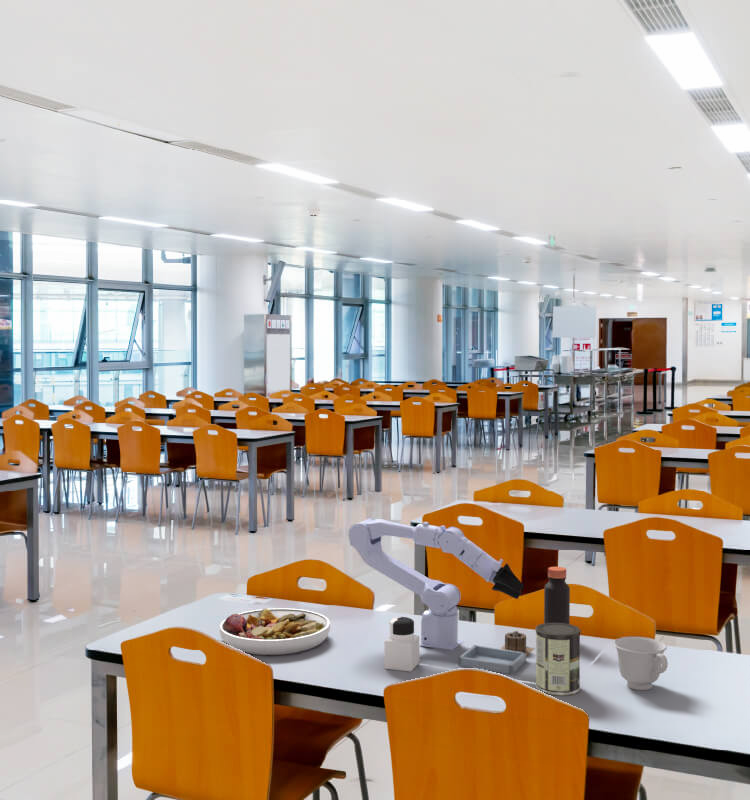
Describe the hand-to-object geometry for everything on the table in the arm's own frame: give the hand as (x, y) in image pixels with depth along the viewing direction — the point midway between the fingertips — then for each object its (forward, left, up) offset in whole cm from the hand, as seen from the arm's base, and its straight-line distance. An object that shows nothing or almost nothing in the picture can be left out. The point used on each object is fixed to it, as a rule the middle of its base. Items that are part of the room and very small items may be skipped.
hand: (520, 592), depth 236 cm
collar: (-2, +2, -16) cm, 16 cm away
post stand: (-2, +2, -16) cm, 17 cm away
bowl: (-64, -18, -17) cm, 69 cm away
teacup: (+33, -9, -17) cm, 38 cm away
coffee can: (+15, -18, -17) cm, 29 cm away
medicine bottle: (-24, -21, -17) cm, 36 cm away
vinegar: (+5, +16, -17) cm, 23 cm away
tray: (-4, -10, -16) cm, 20 cm away
